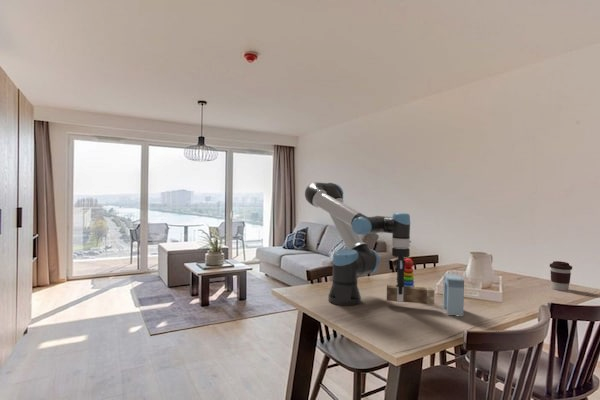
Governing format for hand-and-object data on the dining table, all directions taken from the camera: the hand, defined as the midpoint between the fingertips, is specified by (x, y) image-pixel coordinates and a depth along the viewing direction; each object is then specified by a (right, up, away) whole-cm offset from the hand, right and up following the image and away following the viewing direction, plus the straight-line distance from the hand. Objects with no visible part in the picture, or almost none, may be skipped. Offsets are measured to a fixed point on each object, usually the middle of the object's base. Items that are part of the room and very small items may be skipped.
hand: (399, 299), depth 154 cm
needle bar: (+4, 0, -1) cm, 4 cm away
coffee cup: (+98, -5, +35) cm, 104 cm away
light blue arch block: (+21, -4, -5) cm, 22 cm away
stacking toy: (+8, -3, +18) cm, 20 cm away
